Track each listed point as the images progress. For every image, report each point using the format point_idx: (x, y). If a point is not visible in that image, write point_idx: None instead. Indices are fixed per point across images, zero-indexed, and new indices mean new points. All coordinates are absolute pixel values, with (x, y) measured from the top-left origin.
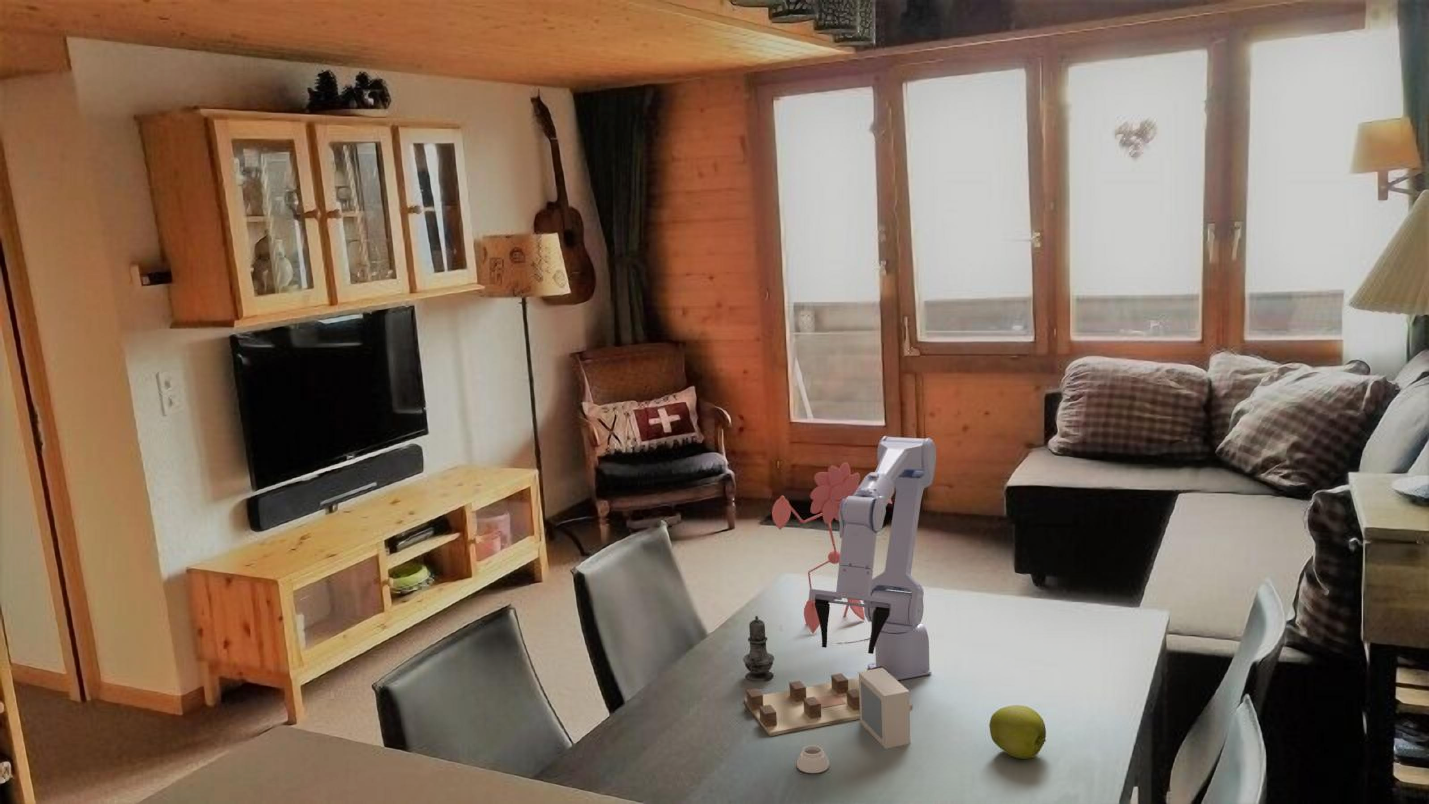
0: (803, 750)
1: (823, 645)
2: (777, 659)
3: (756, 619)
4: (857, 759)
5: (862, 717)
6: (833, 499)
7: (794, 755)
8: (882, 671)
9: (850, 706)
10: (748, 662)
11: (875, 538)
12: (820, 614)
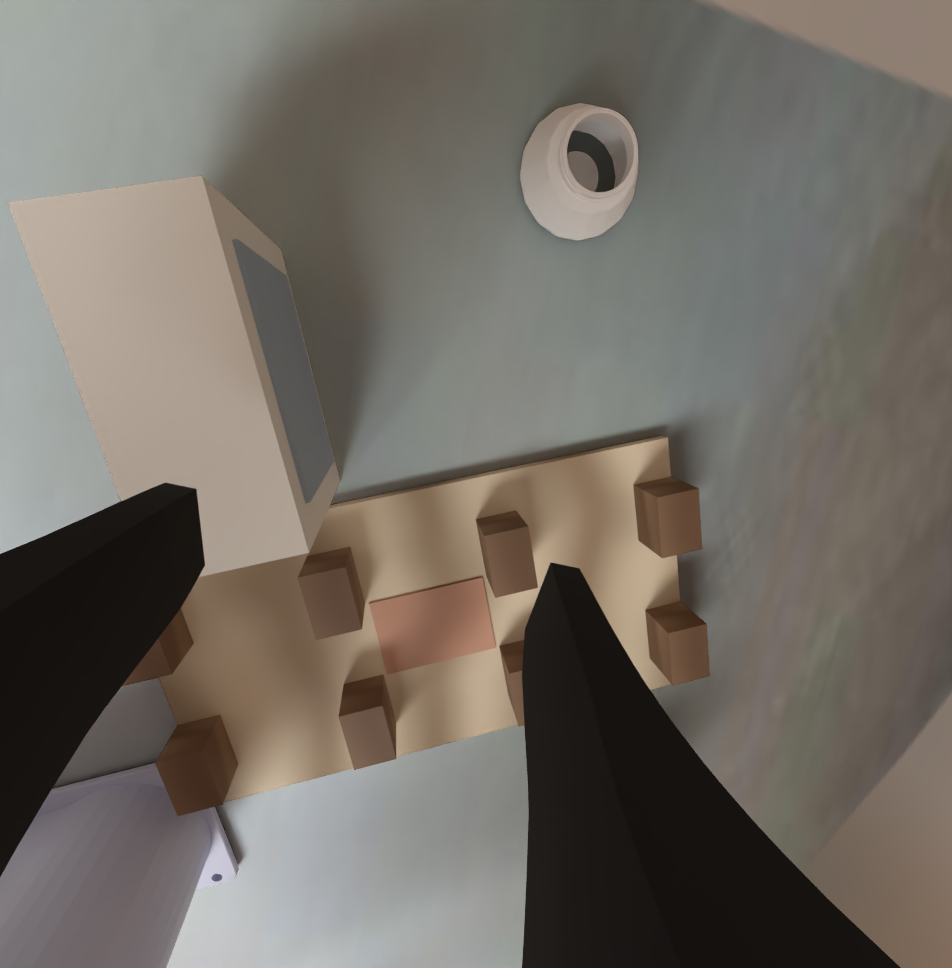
0: (635, 158)
1: (577, 574)
2: (521, 923)
3: None
4: (407, 188)
5: (332, 457)
6: None
7: (617, 279)
8: None
9: (357, 576)
10: None
11: None
12: (759, 851)
